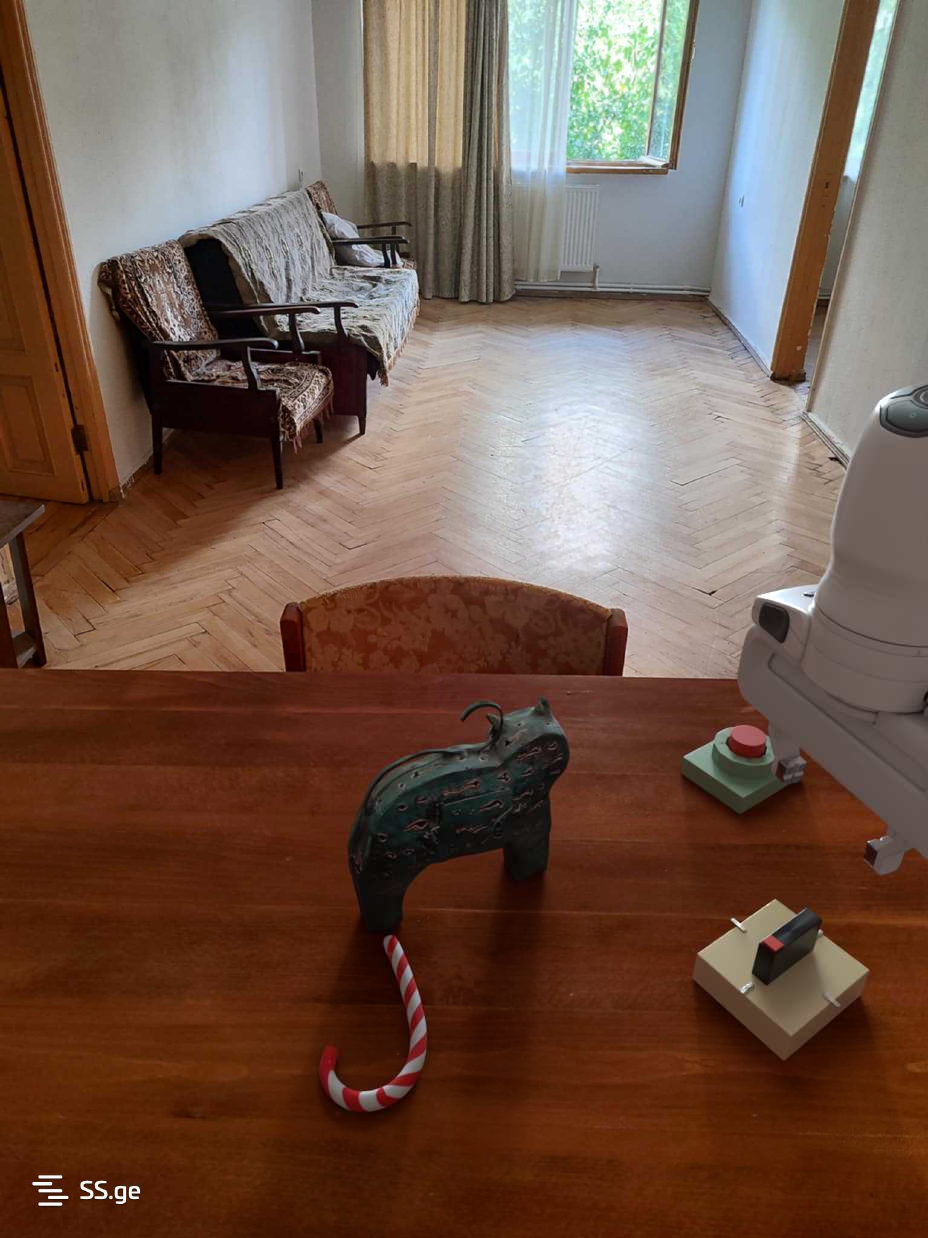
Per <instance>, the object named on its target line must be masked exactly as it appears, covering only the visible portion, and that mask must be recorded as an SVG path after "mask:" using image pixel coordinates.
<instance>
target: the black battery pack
mask: <svg viewBox="0 0 928 1238" xmlns="http://www.w3.org/2000/svg"><path fill="white" fill-rule="evenodd" d="M822 924H823V918H821V917H820V916H819V915H817V914H816V913H815V912H813V911H812V910H811V909H809V908H808V907H806V908H804V909H803V910H802V911H800V912H799V913H798V914H796V916H795V917H794V918H792V919H791V920H789V921H788V922H787V923H785V924H784V925H783V926H781V927H780V928H779V929H777V930H776V931H774V932H773V933H772V934H770V935H769V936H768V937H766V938H765V939H764V940H762V941H761V942H759V945H758V949H757V953H756V957H755V961H754V965H753V969H752V972H751V973H752V974H753V975H754V976H755V977H757V978H758V979H759V980H760V981H761V982H763V983H764V984H765V985H766V986H767V985H769V984H770V983H771V982H772V981H774V980H775V979H776V978H778V977H779V976H780V975H781V974H783V973H784V972H785V971H787V970H788V969H789V968H790V967H792V966H793V965H794V964H796V963H797V962H798V961H799V960H801V959H802V958H803V957H805V956H806V955H807V954H808V953H810V952H811V951H812V950H814V946H815V943H816V940H817V936H818V933H819V930H821V926H822Z"/></svg>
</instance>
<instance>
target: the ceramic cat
mask: <svg viewBox="0 0 928 1238" xmlns="http://www.w3.org/2000/svg"><path fill="white" fill-rule="evenodd" d="M488 707H489V708H494V709H495V710H497V711H498V712H499V713H498V714H499V716H498V715H495V714H491V713H486V714H485V715H486V719H487V720H488V722H489V723H490V725H491V726H490V728H489V729H488V730H487V733H486V739H485V740H486V741H484V742H479V743H473V744H458V745H452V746H449V747H446V748H433V749H432V748H431V749H423V750H420V751H418V752H415V753H412V754H409V755H406V756H404V757H402V758H400V759H397V760H396V761H394V762H391V764H389V765H387V766H385V767H384V768H382V769H380V771H379V772H378V773H377V774H376V775H375V777H373V779H372V780H371V782H370V784H369V786H368V788H367V790H366V793H365V795H364V798H363V801H362V803H361V805H360V806H359V808H358V811H357V814H356V816H355V819H354V820H353V822H352V824H351V827H350V831H349V835H348V840H347V858H348V868H349V873H350V876H351V879H352V885H353V888H354V892H355V895H356V900H357V903H358V908H359V913H360V915H361V917H362V919H363V921H364V923H365V925H366V928H367V930H368V933H369V934H372V933H377V932H381V931H385V930H388V929H390V928H393V927H396V926H397V925H398V924H400V923H402V922H403V921H404V912H403V904H404V901H405V895H406V891H407V889H408V888H409V887H410V885H411V884H412V882H413V881H414V880H415V878H416V877H418V876H419V874H421V873H422V872H423V871H424V870H426V868H428V867H430V866H431V865H434V864H441V863H445V862H448V861H451V860H453V859H458V858H462V857H467V856H474V855H480V854H483V853H487V852H488V853H489V852H493V851H496V850H500V849H502V855H503V863H504V864H505V866H506V869H507V870H508V871H509V873H510V874H511V876H513V878H514V879H515V881H516V883H520V882H522V881H524V880H527V878H530V877H533V876H535V875H540V874H543V873H545V872H546V871H547V870H548V863H549V862H548V861H549V855H550V835H551V834H550V833H551V829H552V812H551V811H552V810H551V797H550V792H551V790H552V787H553V785H555V783H556V782H557V780H559V778H560V777H561V776H562V775H563V773H564V772H565V770H566V769H567V768H568V764H569V761H570V757H571V753H570V742H569V739H568V737H567V735H566V734H565V731H564V730H563V729H562V727H561V726H560V723H559V722H558V720H556V719H557V718H555V717H554V715H553V713H552V710H551V706H550V703H549V700H548V699H547V698H546V697H544V696H543V695H541V697H540V698H539V699H538V702H537V704H536V706H529V707H524V708H520V709H516V710H514V711H512V712H509V713H507V714H505V715H504V712H503V710H502V708H501V707H500V705H499V704H497V703H495V702H492V701H489V700H479V701H476V702H474V703H472V704H470V705H468V706H467V707H466V708H465V709H464V710H463V712H462V714H461V716H460V718H459V720H460V721H461V723H464V722H465V721H466V719H467V718H468V717H469V716H470V715H471V714H472V713H473V712H475V711H476V710H478V709H481V708H488ZM423 756H424V757H423ZM419 757H422V758H420V759H418V760H415V761H412V760H414V759H417V758H419ZM409 761H412V762H409ZM401 765H402V766H401ZM386 775H387V776H386ZM385 776H386V777H385Z"/></svg>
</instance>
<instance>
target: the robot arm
mask: <svg viewBox="0 0 928 1238" xmlns="http://www.w3.org/2000/svg"><path fill="white" fill-rule="evenodd" d="M870 413H871V414H870V415H869V417H868V418H867V420H866V422H865V424H864V426H863V428H862V430H861V432H860V434H859V436H858V439H857V441H856V443H855V446H854V448H853V450H852V453H851V456H850V458H849V461H848V464H847V467H846V470H845V473H844V476H843V480H842V482H841V486H840V490H839V493H838V498H837V501H836V504H835V509H834V512H833V515H832V516H833V517H832V521H831V525H830V530H829V543H830V560H829V563H828V565H827V568H826V570H825V572H824V573H823V575H822V576H821V578H820V580H819V582H818V583H815V584H807V585H800V586H795V587H789V588H784V589H779V590H775V591H772V592H767V593H764V594H760V595H757V596H755V597H754V599H753V600H752V603H751V604H752V605H751V611H750V616H751V621H752V622H753V624H751V626H750V627H749V628H748V629H747V632H746V634H745V636H744V641H743V645H742V648H741V652H740V657H739V660H738V661H739V662H738V667H737V675H736V681H737V686H738V690H739V692H740V695H741V697H742V698H743V700H744V701H746V702H747V703H748V704H749V705H751V706H752V707H753V708H754V710H756V712H758V713H759V714H761V715H762V716H763V717H764V718H765V719H766V720H768V726H767V733H768V737H769V738H770V742H771V746H772V751H773V755H774V760H773V764H772V768H771V773H772V774H774V775H775V776H776V777H777V778H778V779H779V780H780V781H781V782H782V783H783V784H784V785H787V786H790V785H791V784H797V783H799V782H801V780H803V777H804V775H805V774H804V771H805V770H806V766H807V763H808V762H807V761H806V759H804V757H802V756H801V752H800V749H801V750H802V751H803V752H804V753H805V754H806V755H807V756H809V757H810V758H811V759H812V760H813V761H814V762H815V763H817V764H818V765H819V766H820V767H821V768H822V769H823V770H825V771H826V772H827V773H828V774H829V775H830V776H831V777H833V778H834V779H835V780H836V781H837V782H838V783H839V784H840V785H842V786H843V787H844V788H845V789H846V790H847V791H848V792H850V794H852V795H853V796H854V797H855V798H856V799H858V801H860V802H861V803H862V804H863V805H864V806H865V807H866V808H868V809H869V810H870V811H871V812H872V813H874V815H876V816H877V817H878V818H879V819H880V820H881V821H883V822H884V823H885V824H886V825H887V829H886V832H885V833H886V835H885V836H882V837H880V839H876V838H875V839H871V840H868V841H867V843H866V846H865V853H863V854H862V860H863V861H864V862H865V863H867V865H868V866H869V867H870V868H871V869H872V870H874V871H875V872H876V873H877V874H878V875H879V876H884V875H888V874H890V873H893V872H896V871H897V870H898V869H899V868H900V866H901V863H902V861H903V858H904V856H905V853H906V852H908V851H910V850H912V849H915V850H916V852H918V853H919V854H920V855H921V856H923V858H925V859H926V860H927V861H928V381H922V382H918V383H914V384H911V385H908V386H905V387H903V388H900V389H897V390H895V391H892V392H891V393H889V394H887V395H886V396H884V397H883V398H882V399H881V400H880V401H879V402H878V403H877V404H876V406H875V407H874V409H873V410H872V412H870Z"/></svg>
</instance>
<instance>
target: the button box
mask: <svg viewBox="0 0 928 1238" xmlns="http://www.w3.org/2000/svg"><path fill="white" fill-rule="evenodd" d="M734 727H735V726H733V727H726V728H725V729H722V730H720V731H719V732H717V733H716V734H715V737H714V740H712V741H710V742H708V743H706V744H705V745H703V746H701V747H698V748H697V749H695V750H694V751H692V752H689V753H688V754H686V755H684V756H683V757H682V761H681V767H680V774H681V775H683V776H685V777H686V778H687V779H688V780H690V781H692V782H693V783H694V784H696V785H697V786H699V787H700V788H702V789H703V790H704V791H706V792H707V793H709V794H710V795H711V796H713V797H715V798H716V799H718V800H719V801H720V802H722V803H723V804H724V805H726V806H727V807H729V808H730V809H732V810H733V811H735V812H736V813H737V814H739V815H741V814H743V813H745V812H746V811H748V810H749V809H751V808H753V807H755V806H756V805H758V804H759V803H761V802H762V801H764V800H766V799H768V798H769V797H770V796H772V795H774V794H776V793H777V792H779V791H781V790H782V789H784V788H785V787H787V786H788V785H784V784H783V783H782V782H781V781H780V780H779V779H778V778H777V777H776V776H775V775H774V774H772V773H771V768H772V764H773V760H774V755H773V751H772V746H771V742H770V738H769V735H767V734H765V735H766V744H765V748H764V753H763V755H762V756H761V757H759V758H750V759H749V758H745V757H741V756H738V755H736V754H735V753H733V752H731V751H730V749H729V747H728V744H729V739H730V734H731V730H732V729H733V728H734Z"/></svg>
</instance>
